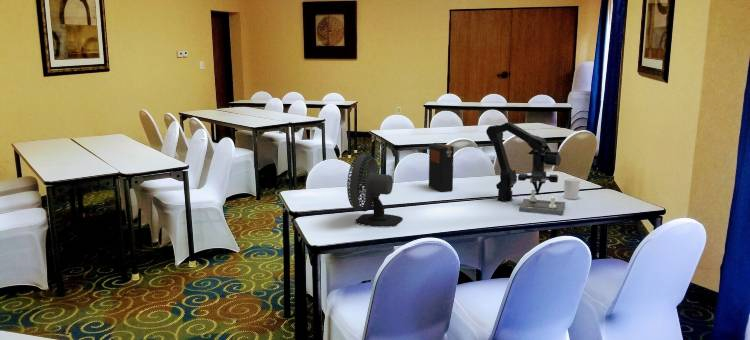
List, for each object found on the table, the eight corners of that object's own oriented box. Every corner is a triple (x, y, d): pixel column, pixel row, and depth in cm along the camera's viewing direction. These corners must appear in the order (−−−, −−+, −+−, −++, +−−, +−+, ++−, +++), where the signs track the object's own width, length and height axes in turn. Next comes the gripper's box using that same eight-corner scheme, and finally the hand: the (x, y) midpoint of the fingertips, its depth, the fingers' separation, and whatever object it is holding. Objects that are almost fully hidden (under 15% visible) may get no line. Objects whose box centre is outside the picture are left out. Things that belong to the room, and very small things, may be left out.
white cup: (579, 200, 310) (581, 181, 308) (563, 199, 311) (565, 180, 309) (577, 196, 317) (579, 178, 315) (562, 195, 319) (563, 177, 317)
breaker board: (519, 211, 289) (519, 207, 288) (523, 202, 305) (523, 198, 305) (562, 215, 282) (562, 210, 281) (564, 205, 298) (565, 201, 298)
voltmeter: (454, 191, 329) (455, 146, 324) (441, 192, 326) (441, 147, 321) (439, 185, 343) (440, 142, 338) (426, 186, 340) (427, 143, 335)
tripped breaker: (529, 201, 298) (529, 191, 297) (530, 199, 302) (530, 189, 301) (535, 201, 297) (536, 191, 296) (536, 199, 301) (536, 190, 300)
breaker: (548, 207, 286) (549, 197, 285) (549, 206, 289) (550, 195, 288) (555, 208, 285) (556, 198, 284) (555, 206, 288) (556, 196, 287)
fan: (379, 209, 292) (379, 149, 286) (411, 223, 270) (412, 157, 264) (332, 218, 278) (331, 154, 272) (362, 232, 256) (361, 163, 250)
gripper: (516, 165, 291) (516, 197, 294) (557, 167, 284) (555, 199, 287) (519, 161, 301) (519, 192, 304) (558, 163, 295) (557, 194, 298)
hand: (537, 194), depth 298 cm, fingers closed
